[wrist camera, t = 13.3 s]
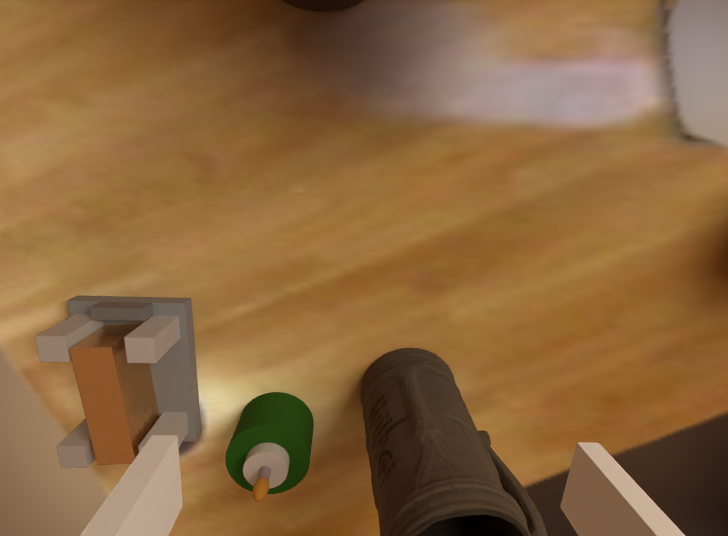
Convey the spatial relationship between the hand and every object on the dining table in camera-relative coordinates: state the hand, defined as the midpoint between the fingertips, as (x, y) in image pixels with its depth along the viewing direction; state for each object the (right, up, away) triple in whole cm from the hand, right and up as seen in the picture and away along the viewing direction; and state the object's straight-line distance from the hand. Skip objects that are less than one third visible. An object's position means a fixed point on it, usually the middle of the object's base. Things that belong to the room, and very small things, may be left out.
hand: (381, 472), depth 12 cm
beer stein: (+7, -8, +30) cm, 32 cm away
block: (-24, -5, +26) cm, 35 cm away
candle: (-11, -11, +30) cm, 34 cm away
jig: (-24, -4, +27) cm, 36 cm away
